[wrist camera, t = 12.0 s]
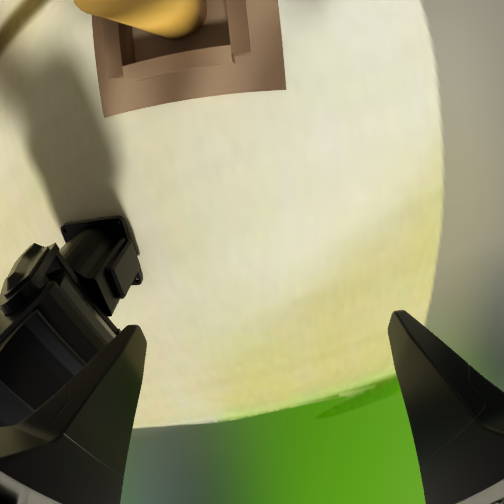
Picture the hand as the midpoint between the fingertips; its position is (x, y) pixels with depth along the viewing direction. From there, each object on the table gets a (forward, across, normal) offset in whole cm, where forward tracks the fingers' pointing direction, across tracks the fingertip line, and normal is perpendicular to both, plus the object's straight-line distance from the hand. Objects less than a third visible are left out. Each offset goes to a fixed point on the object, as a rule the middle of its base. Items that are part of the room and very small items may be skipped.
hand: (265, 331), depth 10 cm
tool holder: (+13, +4, -13) cm, 19 cm away
